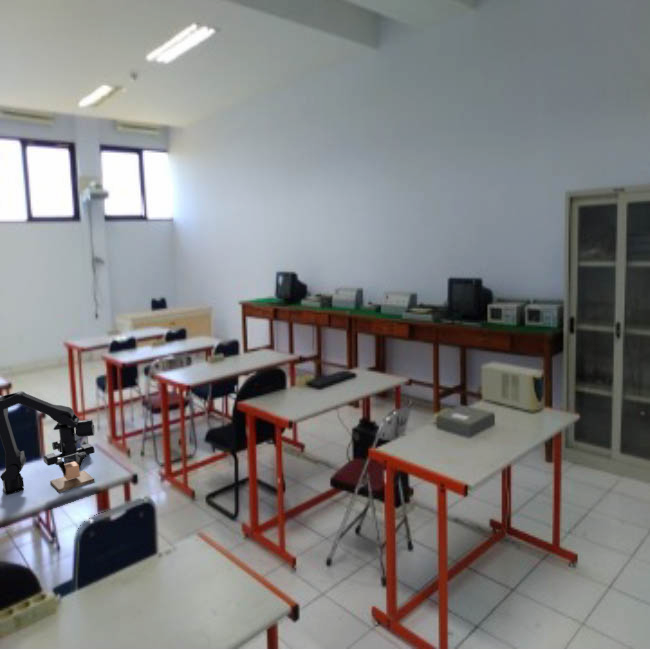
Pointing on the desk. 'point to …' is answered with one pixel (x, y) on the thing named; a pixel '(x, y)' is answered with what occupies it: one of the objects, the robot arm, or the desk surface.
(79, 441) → the small box
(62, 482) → the walnut board
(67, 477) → the terracotta cube
